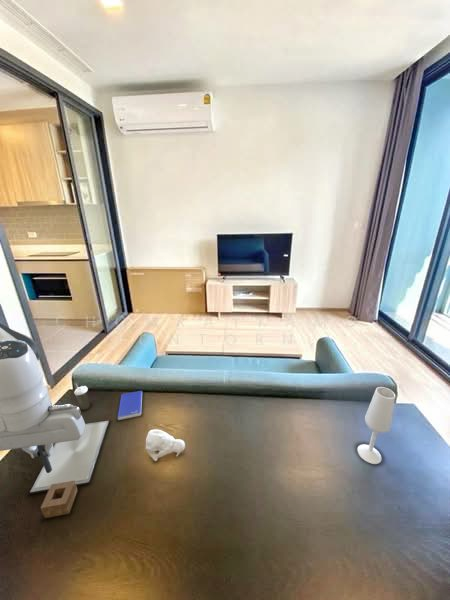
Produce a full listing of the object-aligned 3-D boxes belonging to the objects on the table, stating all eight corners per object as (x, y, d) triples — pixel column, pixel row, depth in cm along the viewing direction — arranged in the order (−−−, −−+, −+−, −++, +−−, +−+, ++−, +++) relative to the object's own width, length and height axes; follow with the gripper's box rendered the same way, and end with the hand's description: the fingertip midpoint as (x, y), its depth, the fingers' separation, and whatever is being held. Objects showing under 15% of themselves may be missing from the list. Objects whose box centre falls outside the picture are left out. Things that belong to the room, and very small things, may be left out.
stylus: (45, 473, 61) (29, 430, 56) (47, 468, 62) (32, 426, 57) (50, 472, 61) (35, 430, 56) (53, 467, 62) (38, 425, 58)
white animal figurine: (148, 424, 79) (186, 425, 80) (149, 443, 82) (185, 444, 83) (143, 441, 73) (184, 442, 74) (144, 462, 76) (183, 463, 77)
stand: (44, 518, 63) (40, 508, 62) (55, 494, 68) (51, 484, 67) (69, 513, 64) (65, 503, 63) (77, 490, 69) (74, 480, 68)
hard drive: (140, 412, 93) (141, 390, 105) (117, 416, 91) (121, 394, 103) (141, 415, 94) (142, 393, 105) (118, 420, 92) (121, 397, 103)
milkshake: (87, 400, 102) (82, 380, 98) (94, 406, 99) (88, 385, 95) (75, 407, 98) (69, 386, 95) (82, 413, 95) (76, 392, 92)
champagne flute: (385, 455, 78) (403, 393, 70) (376, 468, 74) (394, 405, 66) (363, 440, 83) (377, 381, 75) (353, 452, 79) (367, 391, 71)
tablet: (30, 494, 68) (29, 491, 68) (64, 428, 89) (63, 426, 88) (89, 484, 71) (88, 481, 70) (109, 422, 91) (108, 420, 91)
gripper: (82, 393, 60) (93, 436, 64) (-15, 405, 56) (4, 449, 61) (72, 414, 54) (85, 459, 59) (-37, 427, 50) (-14, 474, 55)
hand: (43, 454), depth 60 cm, fingers closed on stylus, 1 cm apart
